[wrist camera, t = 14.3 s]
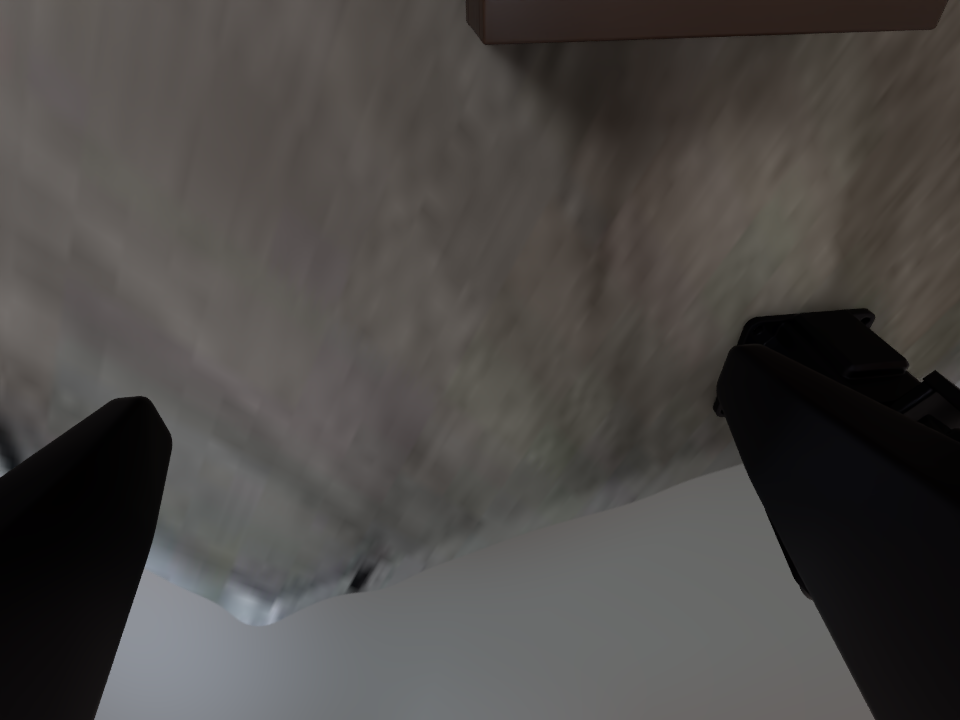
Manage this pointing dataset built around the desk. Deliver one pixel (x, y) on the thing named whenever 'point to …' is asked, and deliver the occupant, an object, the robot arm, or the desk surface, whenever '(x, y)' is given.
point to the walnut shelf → (689, 18)
